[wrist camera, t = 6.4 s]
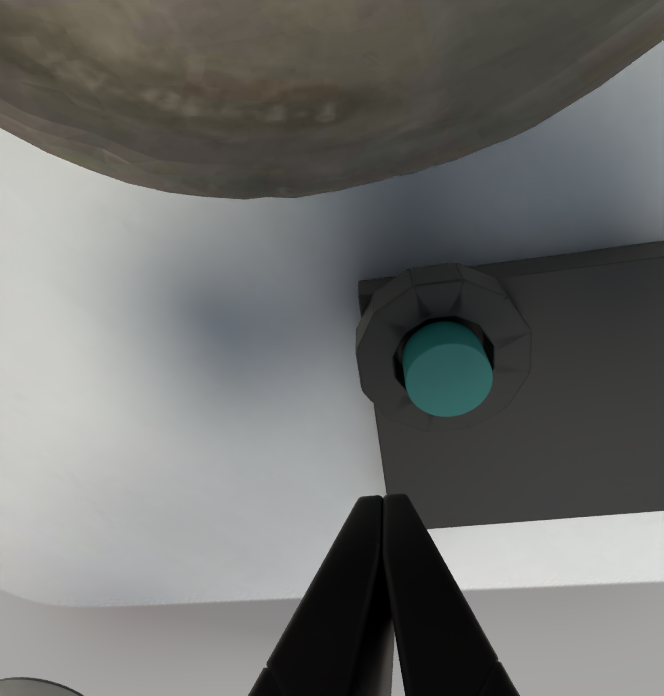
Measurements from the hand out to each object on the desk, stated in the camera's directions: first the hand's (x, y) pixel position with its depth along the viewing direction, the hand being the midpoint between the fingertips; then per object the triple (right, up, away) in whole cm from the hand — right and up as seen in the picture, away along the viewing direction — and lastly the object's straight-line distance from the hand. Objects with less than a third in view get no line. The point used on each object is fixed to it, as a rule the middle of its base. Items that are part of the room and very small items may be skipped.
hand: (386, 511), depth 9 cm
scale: (+8, +1, +11) cm, 14 cm away
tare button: (+3, +3, +8) cm, 9 cm away
